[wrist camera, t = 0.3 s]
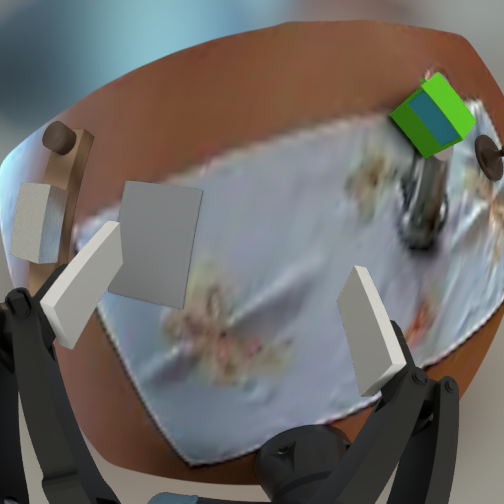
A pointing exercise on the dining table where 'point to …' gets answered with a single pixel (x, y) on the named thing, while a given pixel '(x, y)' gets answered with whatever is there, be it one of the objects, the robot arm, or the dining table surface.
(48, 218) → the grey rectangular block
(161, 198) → the grey mat
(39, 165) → the dining table surface
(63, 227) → the plane body
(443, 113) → the toy block
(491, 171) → the candlestick
